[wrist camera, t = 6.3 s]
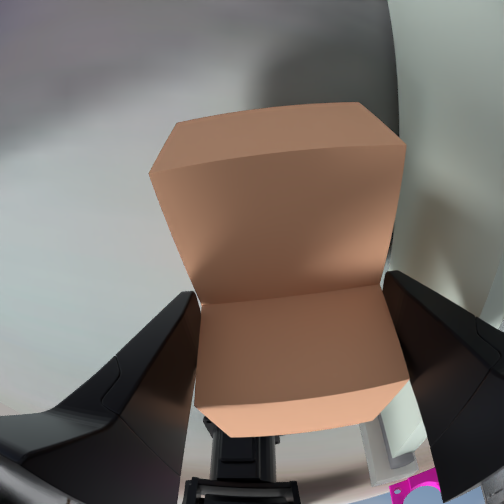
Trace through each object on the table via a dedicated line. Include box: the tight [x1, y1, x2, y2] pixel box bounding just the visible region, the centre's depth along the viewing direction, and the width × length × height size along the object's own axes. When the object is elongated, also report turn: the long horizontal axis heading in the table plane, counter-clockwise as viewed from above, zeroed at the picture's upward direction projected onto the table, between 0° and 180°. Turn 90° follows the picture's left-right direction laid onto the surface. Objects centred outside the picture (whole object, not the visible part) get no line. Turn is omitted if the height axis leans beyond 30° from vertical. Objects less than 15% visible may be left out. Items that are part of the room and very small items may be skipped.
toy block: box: [389, 468, 441, 504], centre depth 43 cm, size 15×6×8 cm, turn 113°
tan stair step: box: [149, 102, 410, 437], centre depth 10 cm, size 10×6×7 cm, turn 8°
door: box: [378, 0, 504, 469], centre depth 10 cm, size 25×3×8 cm, turn 7°
